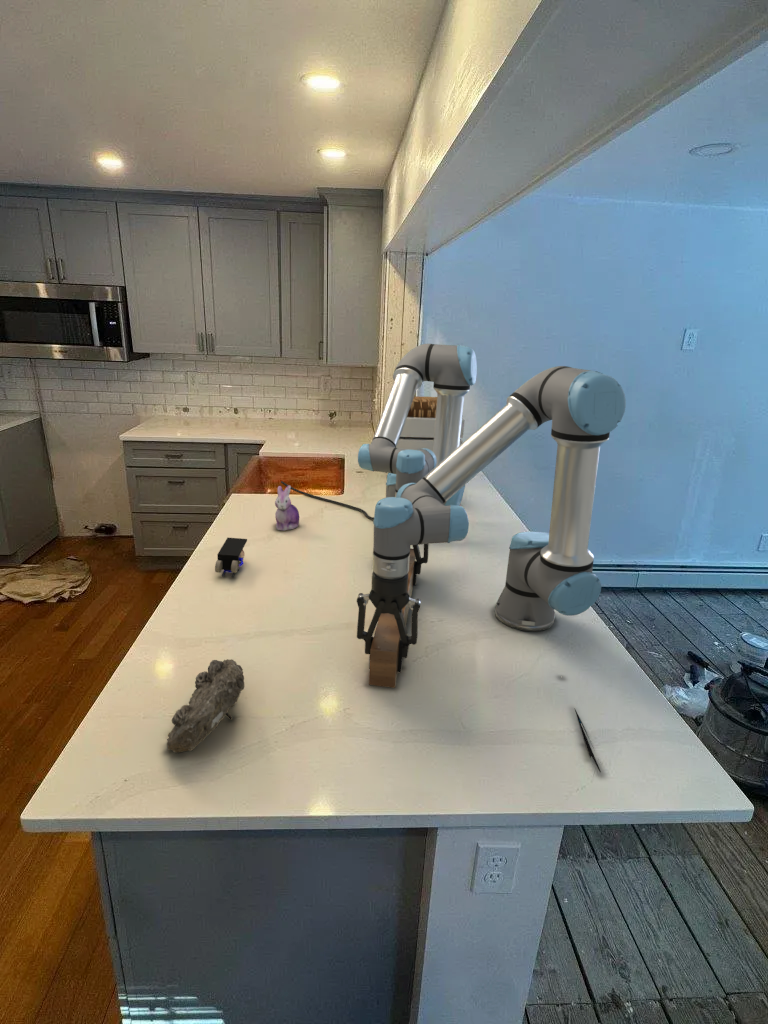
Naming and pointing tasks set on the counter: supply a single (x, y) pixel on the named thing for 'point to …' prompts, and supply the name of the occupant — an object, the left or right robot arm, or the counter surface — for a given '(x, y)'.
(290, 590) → the counter surface
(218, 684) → the fossil
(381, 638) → the bar
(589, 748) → the feather
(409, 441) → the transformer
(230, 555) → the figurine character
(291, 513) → the figurine
